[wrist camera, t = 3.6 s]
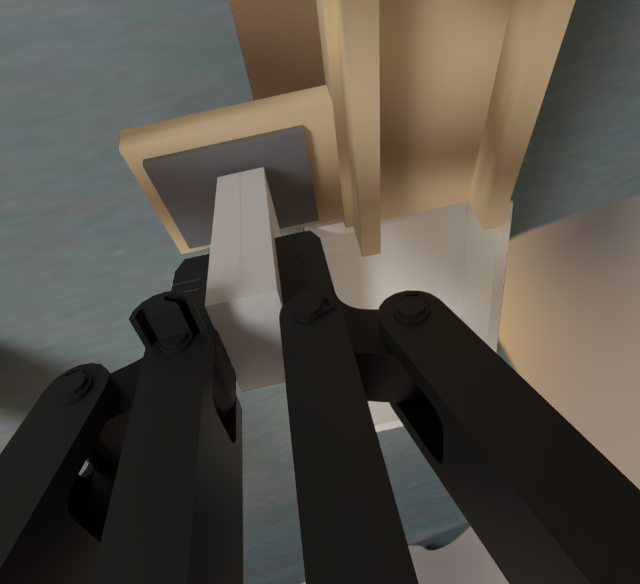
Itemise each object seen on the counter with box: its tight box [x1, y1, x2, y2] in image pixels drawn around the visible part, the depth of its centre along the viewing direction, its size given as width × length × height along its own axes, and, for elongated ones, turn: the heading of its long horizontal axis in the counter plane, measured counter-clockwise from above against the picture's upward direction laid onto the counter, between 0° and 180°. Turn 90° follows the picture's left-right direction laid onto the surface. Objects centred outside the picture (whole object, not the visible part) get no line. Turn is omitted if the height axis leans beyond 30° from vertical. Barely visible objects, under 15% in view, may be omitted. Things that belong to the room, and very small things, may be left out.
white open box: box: [304, 199, 513, 432], centre depth 23 cm, size 10×9×7 cm
